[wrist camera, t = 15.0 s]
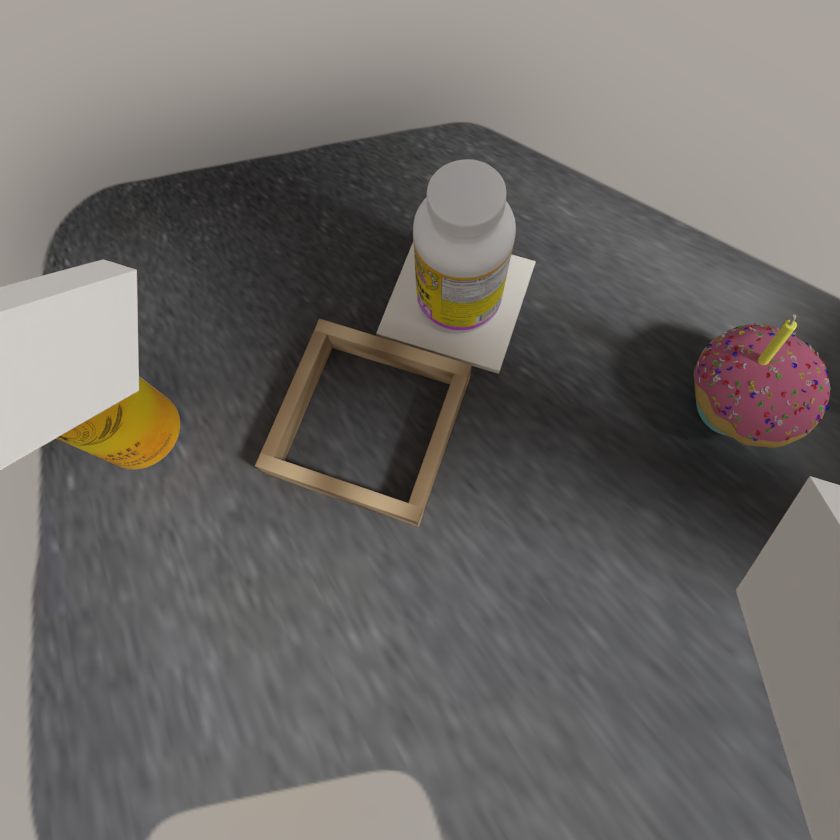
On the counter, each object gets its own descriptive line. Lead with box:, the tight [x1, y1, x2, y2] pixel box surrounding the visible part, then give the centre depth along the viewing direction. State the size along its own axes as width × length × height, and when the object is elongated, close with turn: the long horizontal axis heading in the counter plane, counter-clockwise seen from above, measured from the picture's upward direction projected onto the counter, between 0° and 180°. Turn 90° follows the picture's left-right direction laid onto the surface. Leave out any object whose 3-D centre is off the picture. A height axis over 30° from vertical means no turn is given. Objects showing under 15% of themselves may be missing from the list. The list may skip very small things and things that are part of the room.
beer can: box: [56, 376, 180, 469], centre depth 38 cm, size 6×6×15 cm
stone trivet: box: [376, 242, 536, 374], centre depth 48 cm, size 10×10×1 cm
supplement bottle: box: [413, 160, 516, 333], centre depth 41 cm, size 7×7×13 cm
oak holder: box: [255, 319, 472, 527], centre depth 44 cm, size 12×12×2 cm
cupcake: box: [694, 314, 831, 448], centre depth 39 cm, size 9×8×12 cm
